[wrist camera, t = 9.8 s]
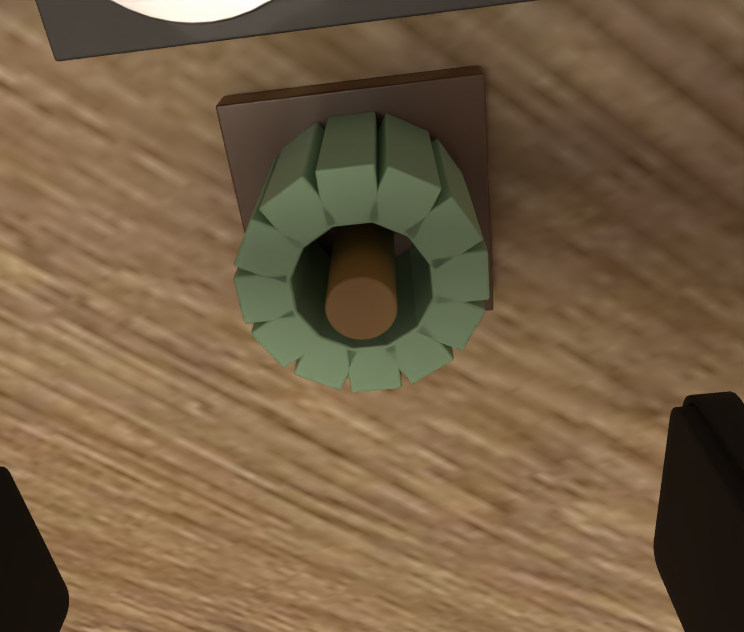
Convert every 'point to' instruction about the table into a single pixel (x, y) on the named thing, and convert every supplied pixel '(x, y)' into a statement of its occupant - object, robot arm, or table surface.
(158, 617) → the table surface
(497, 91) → the table surface
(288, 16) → the hob
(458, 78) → the peg stand
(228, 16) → the burner
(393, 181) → the ring
